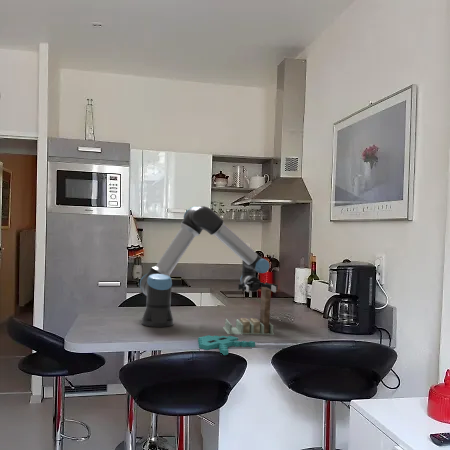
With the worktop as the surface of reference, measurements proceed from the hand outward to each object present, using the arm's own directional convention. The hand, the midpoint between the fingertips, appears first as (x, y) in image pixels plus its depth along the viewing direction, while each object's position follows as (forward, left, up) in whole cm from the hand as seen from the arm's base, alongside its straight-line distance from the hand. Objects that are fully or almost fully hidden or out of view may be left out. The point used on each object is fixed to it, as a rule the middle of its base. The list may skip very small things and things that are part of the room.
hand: (261, 289), depth 226 cm
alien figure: (-27, -30, -20) cm, 44 cm away
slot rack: (-9, -9, -19) cm, 23 cm away
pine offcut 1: (-11, -9, -18) cm, 23 cm away
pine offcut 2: (-6, -9, -18) cm, 21 cm away
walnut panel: (-1, -10, -18) cm, 20 cm away
